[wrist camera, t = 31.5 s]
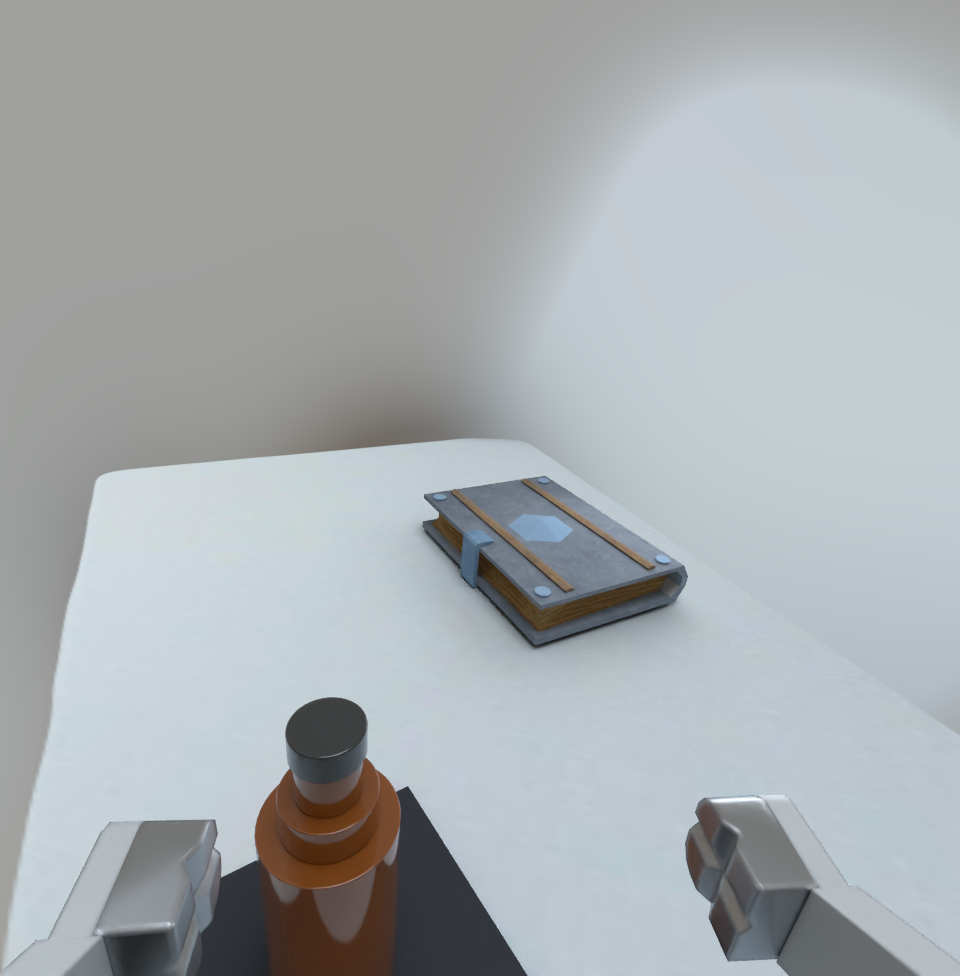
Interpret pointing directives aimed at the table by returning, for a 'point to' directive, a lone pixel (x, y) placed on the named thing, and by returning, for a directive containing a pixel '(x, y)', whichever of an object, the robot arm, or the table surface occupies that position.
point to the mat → (420, 915)
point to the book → (550, 557)
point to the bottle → (329, 851)
